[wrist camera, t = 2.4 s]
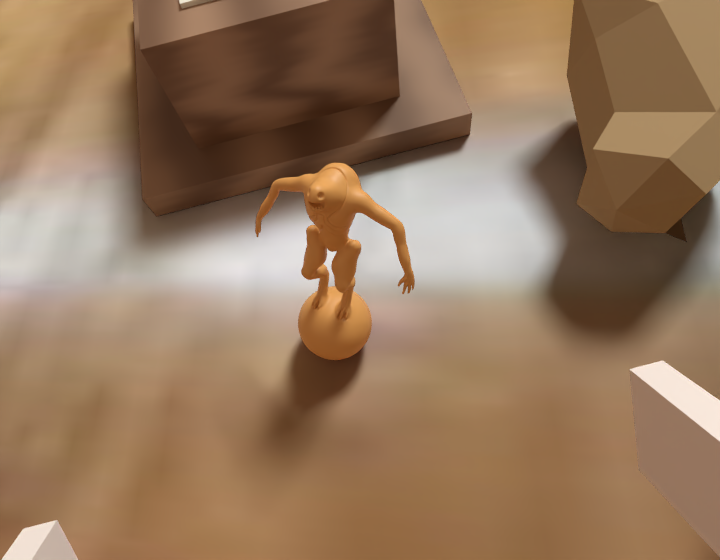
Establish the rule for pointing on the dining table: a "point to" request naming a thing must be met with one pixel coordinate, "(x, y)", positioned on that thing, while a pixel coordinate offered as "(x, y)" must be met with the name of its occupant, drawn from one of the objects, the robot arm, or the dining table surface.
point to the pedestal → (283, 91)
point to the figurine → (336, 257)
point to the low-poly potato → (646, 109)
